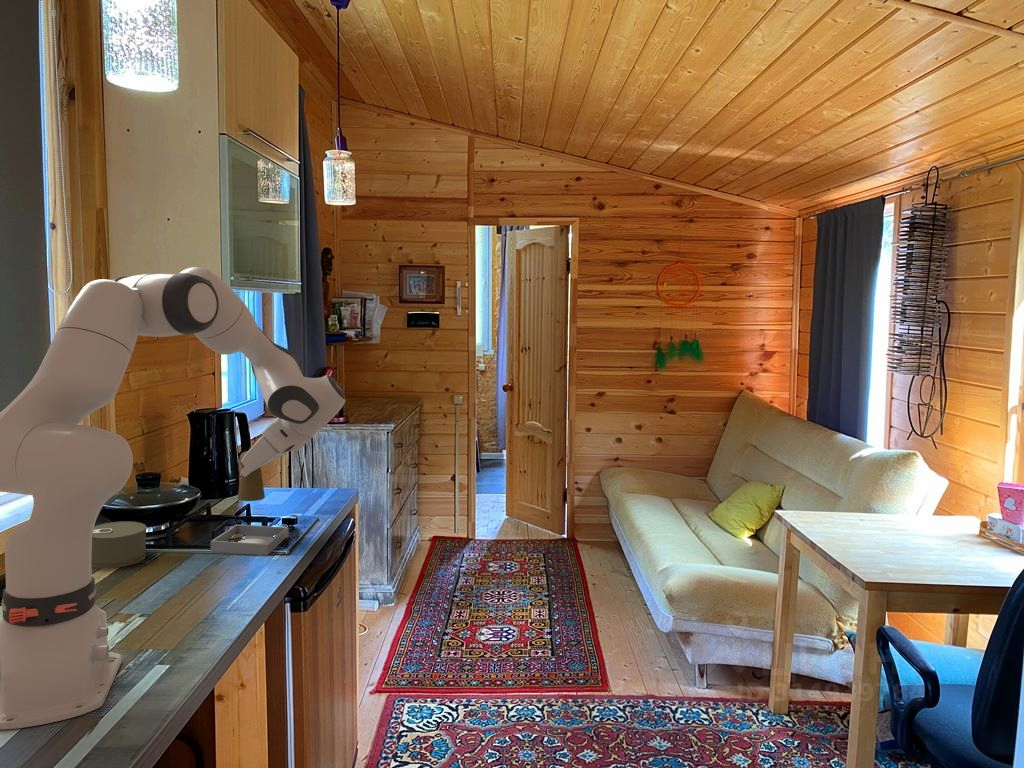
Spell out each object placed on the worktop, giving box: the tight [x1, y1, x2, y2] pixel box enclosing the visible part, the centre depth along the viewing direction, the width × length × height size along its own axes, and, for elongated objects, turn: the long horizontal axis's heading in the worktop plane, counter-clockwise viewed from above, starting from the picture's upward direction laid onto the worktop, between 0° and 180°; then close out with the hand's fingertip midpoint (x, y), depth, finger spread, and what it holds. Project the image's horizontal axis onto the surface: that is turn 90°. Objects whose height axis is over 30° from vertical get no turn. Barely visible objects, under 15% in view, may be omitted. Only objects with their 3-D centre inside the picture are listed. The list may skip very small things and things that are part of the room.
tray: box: [210, 523, 290, 556], centre depth 175 cm, size 13×13×3 cm
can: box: [92, 520, 147, 569], centre depth 163 cm, size 12×12×7 cm
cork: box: [237, 450, 266, 502], centre depth 174 cm, size 6×6×11 cm
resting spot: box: [238, 539, 267, 544], centre depth 175 cm, size 7×7×1 cm
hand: (248, 471), depth 173 cm, fingers closed on cork, 4 cm apart
